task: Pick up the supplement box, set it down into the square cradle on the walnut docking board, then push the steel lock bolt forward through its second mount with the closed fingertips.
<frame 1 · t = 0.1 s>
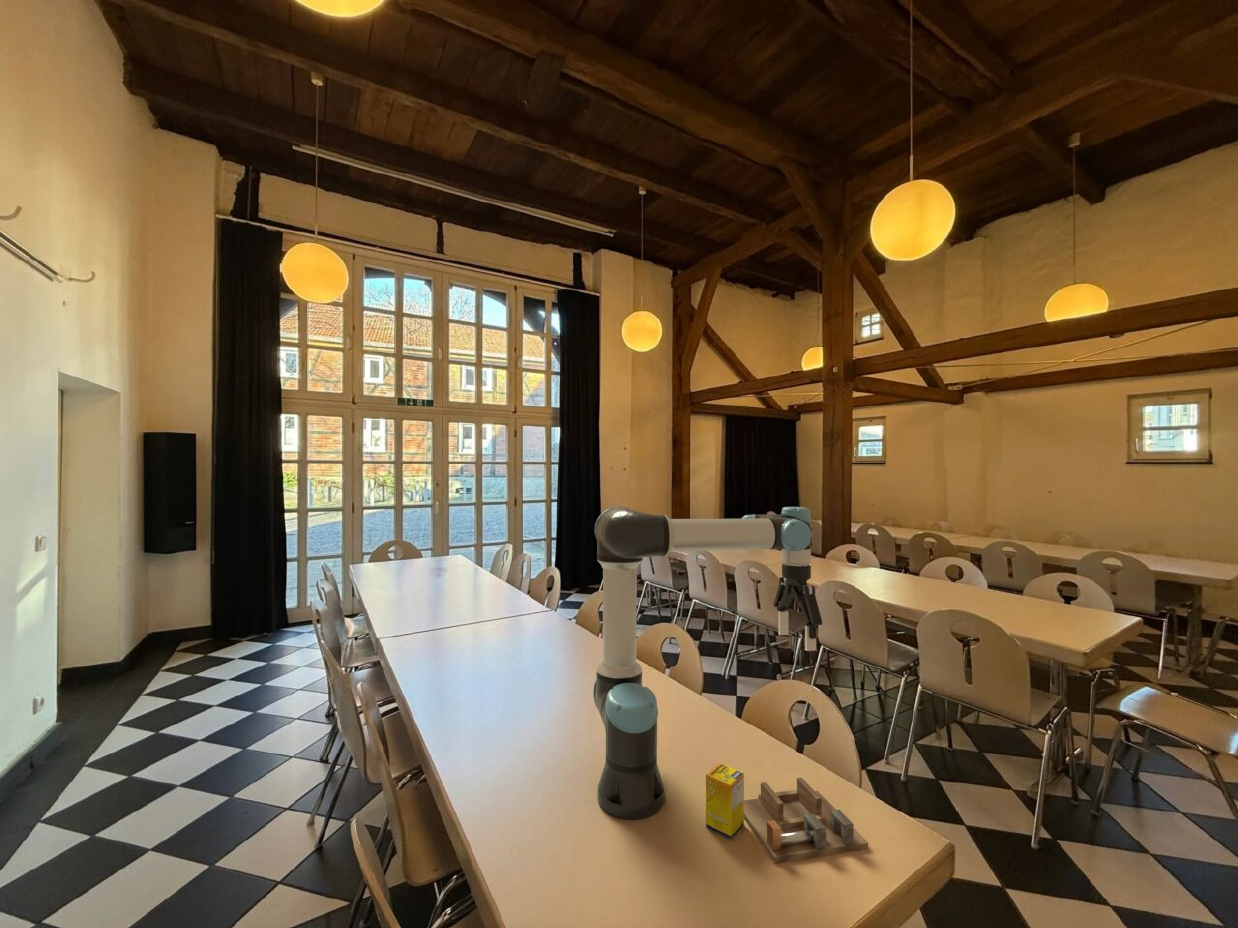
hand: (796, 642, 140), 28 cm above the table, fingers open, 13 cm apart
dock: (798, 826, 107), on the table
lock pin: (797, 831, 100), point 3 cm above the table, slide at 0.0 cm
supplement box: (724, 827, 107), on the table
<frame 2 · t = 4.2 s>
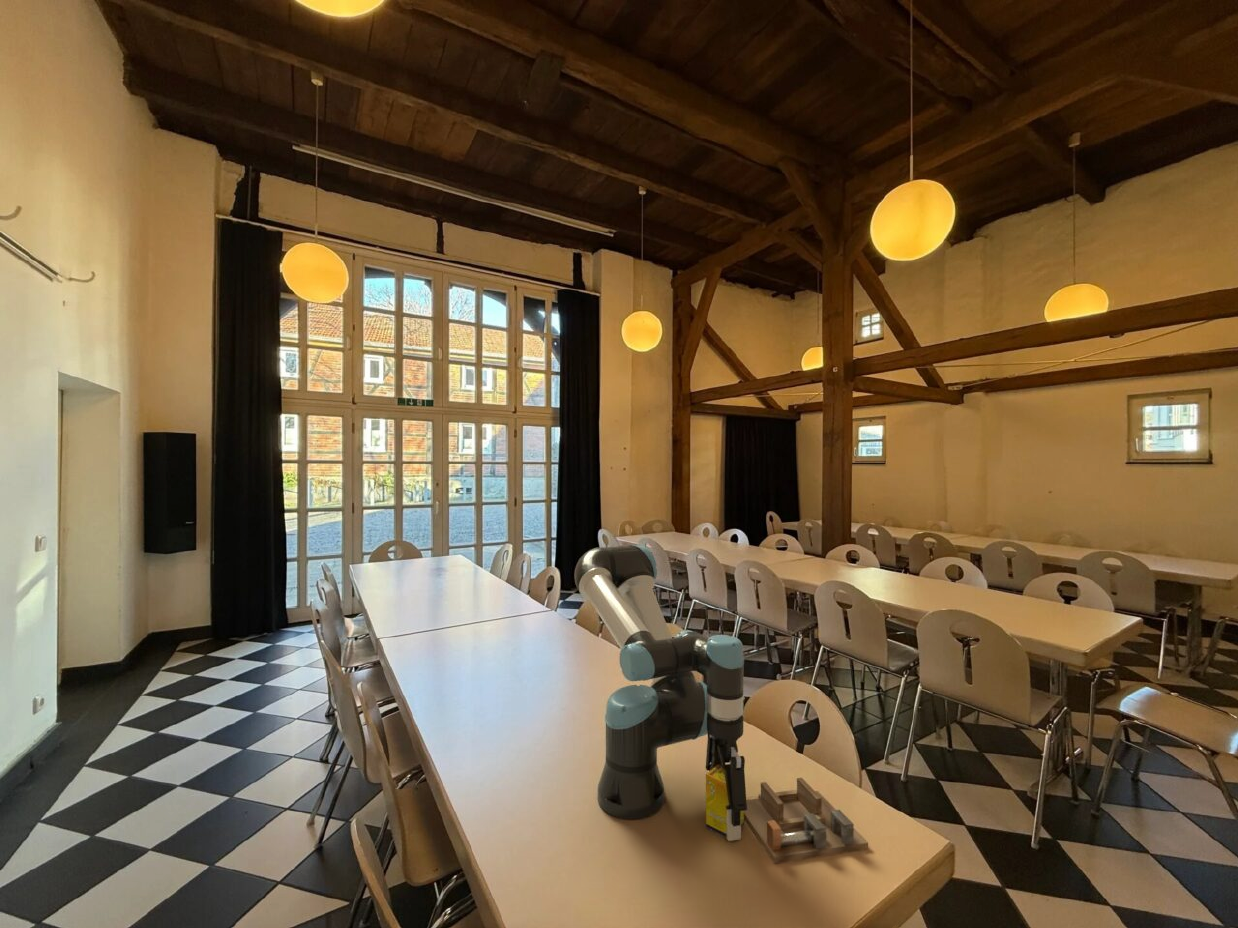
hand: (724, 823, 107), 0 cm above the table, fingers closed on supplement box, 8 cm apart
supplement box: (724, 827, 107), on the table, touching gripper
everything else where it was.
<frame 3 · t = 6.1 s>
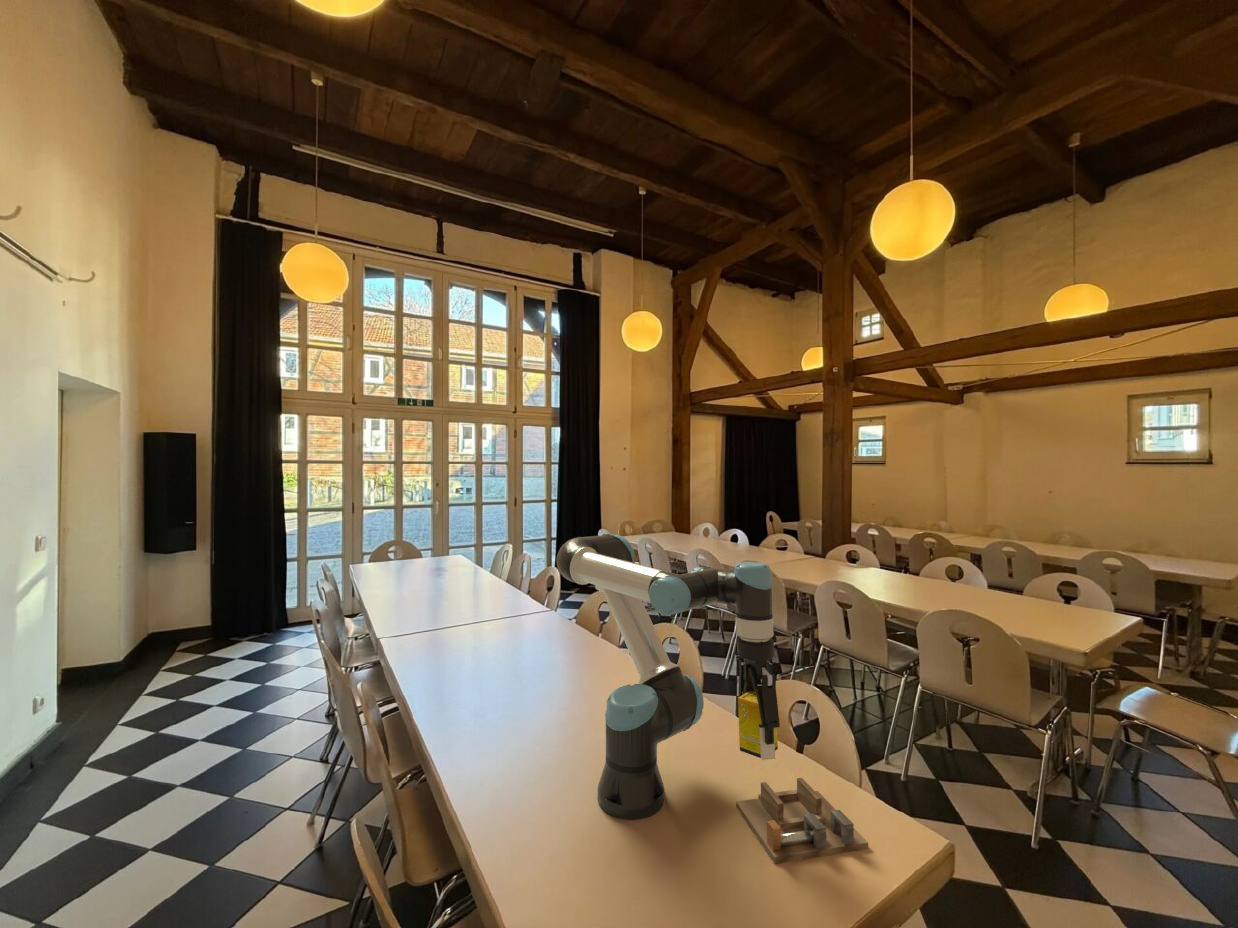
hand: (758, 747, 107), 16 cm above the table, fingers closed on supplement box, 8 cm apart
supplement box: (758, 750, 107), point 15 cm above the table, touching gripper
everything else where it was.
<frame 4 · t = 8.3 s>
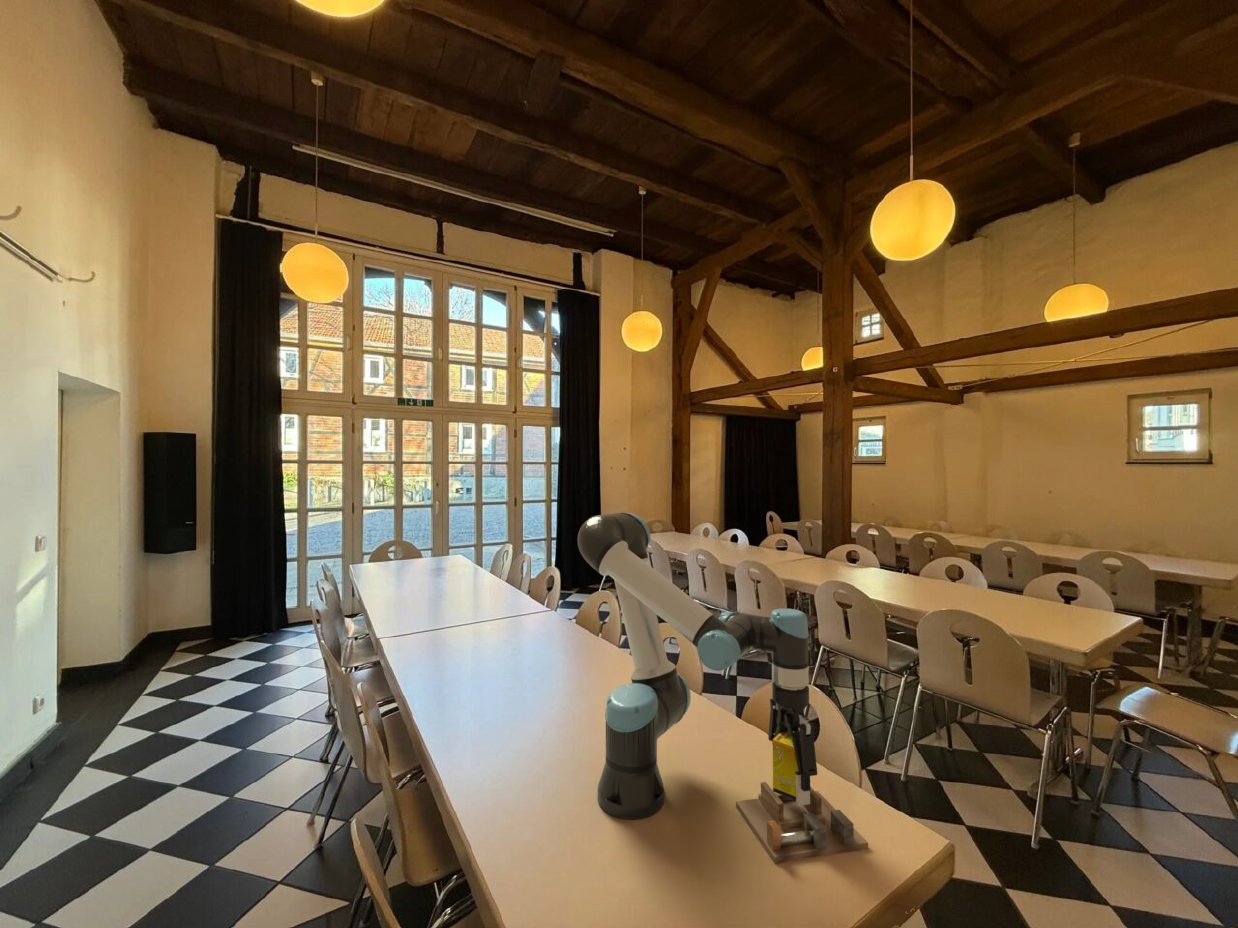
hand: (791, 790, 110), 6 cm above the table, fingers closed on supplement box, 8 cm apart
supplement box: (791, 791, 110), point 6 cm above the table, touching dock, gripper
everything else where it was.
when the fingers open (4 cm above the table, at t = 9.2 s): supplement box stays where it is, resting on dock.
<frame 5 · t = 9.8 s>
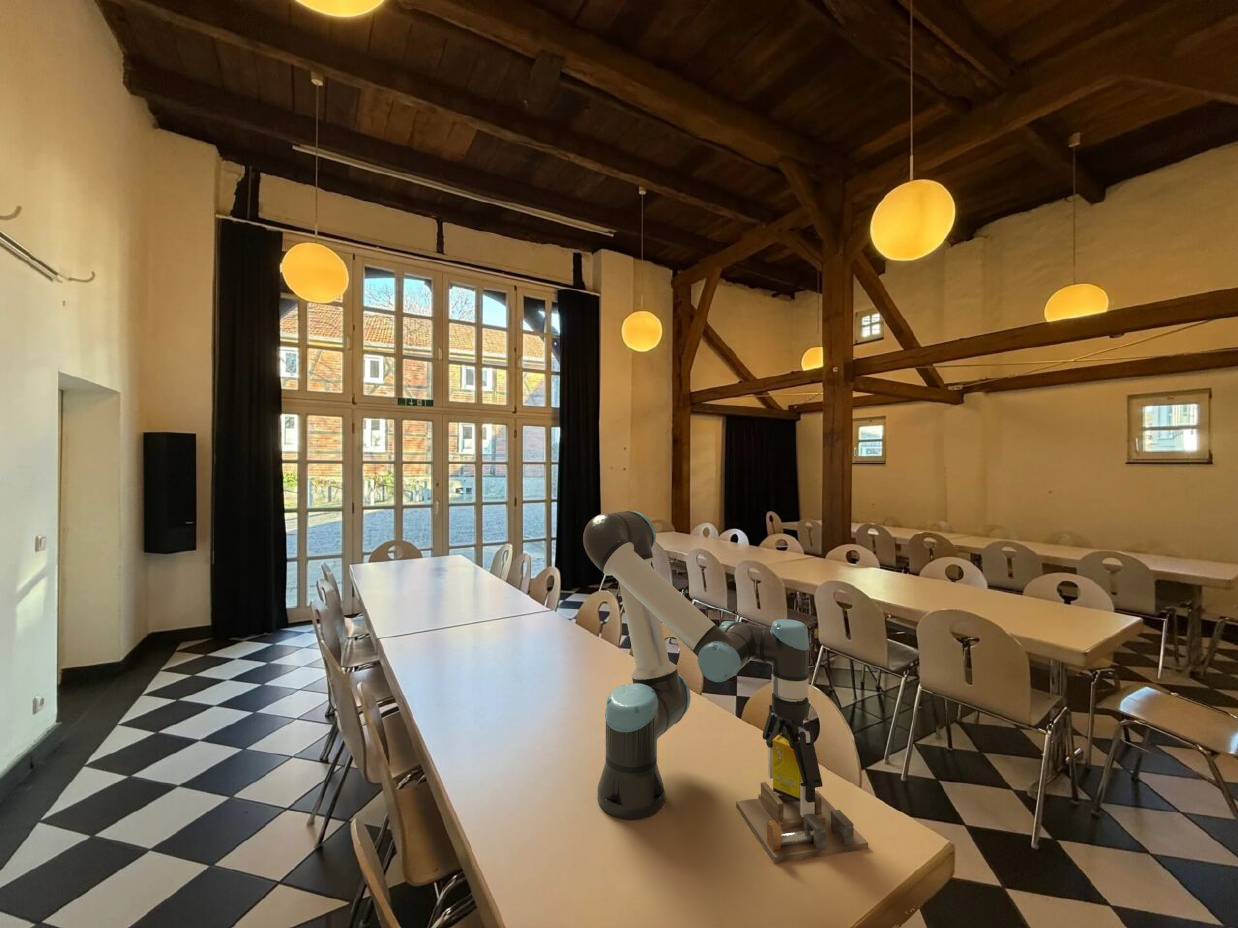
hand: (789, 795, 110), 4 cm above the table, fingers open, 13 cm apart
supplement box: (791, 791, 110), point 6 cm above the table, touching dock
everything else where it was.
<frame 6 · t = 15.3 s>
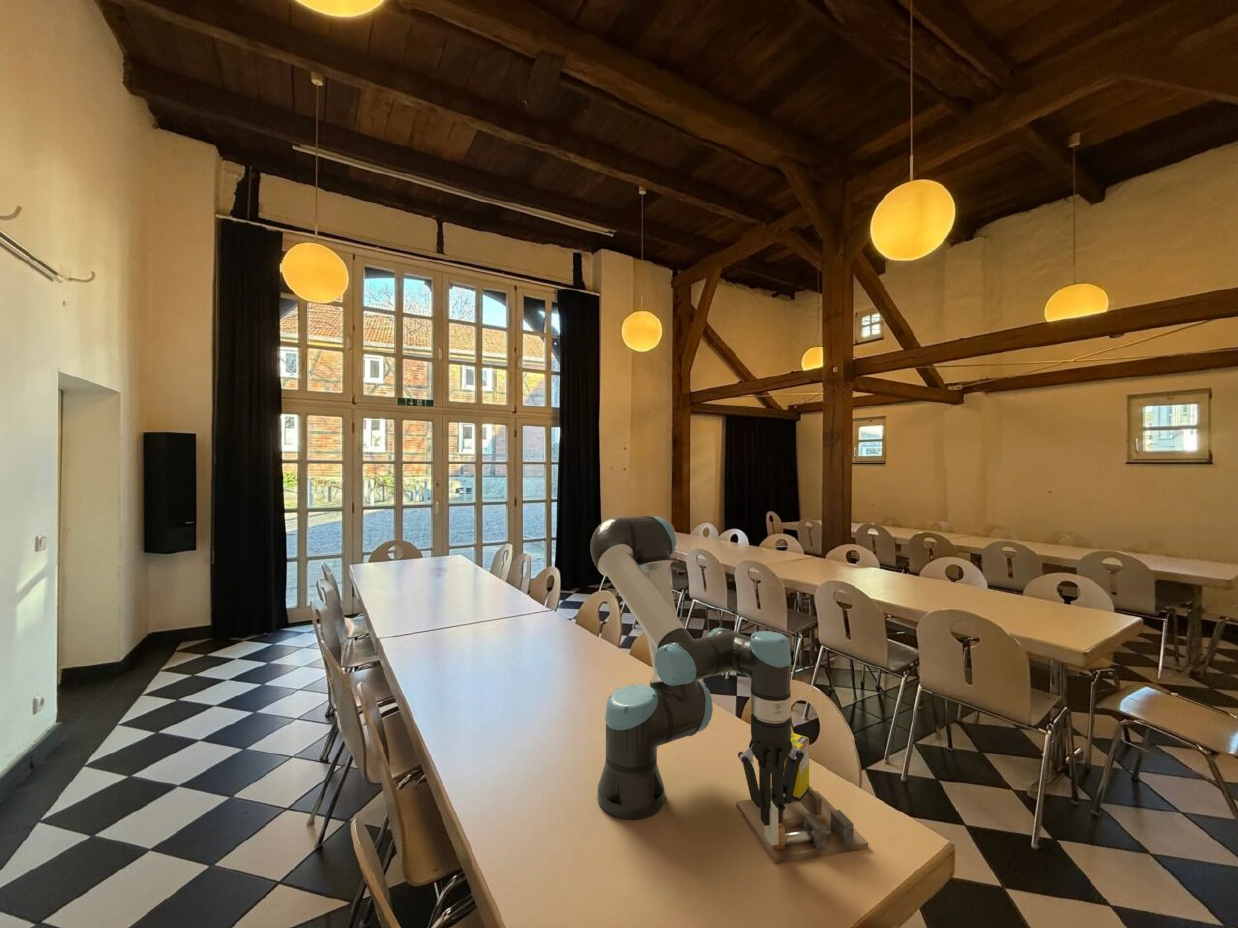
hand: (771, 839, 99), 3 cm above the table, fingers closed
lock pin: (801, 831, 100), point 3 cm above the table, slide at 0.9 cm, touching gripper
everything else where it was.
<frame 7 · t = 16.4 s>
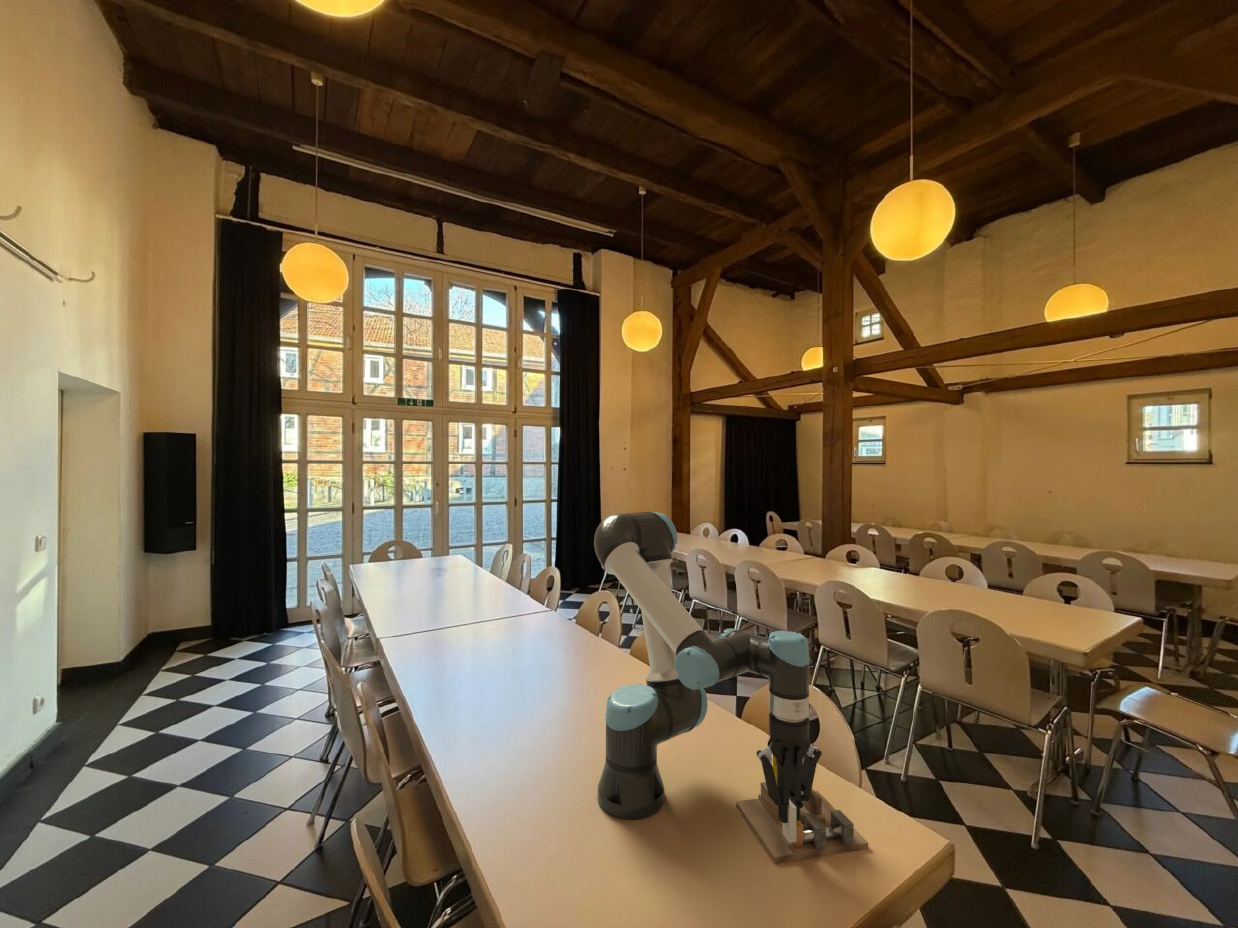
hand: (789, 837, 100), 3 cm above the table, fingers closed
lock pin: (819, 828, 101), point 3 cm above the table, slide at 4.8 cm, touching gripper
everything else where it was.
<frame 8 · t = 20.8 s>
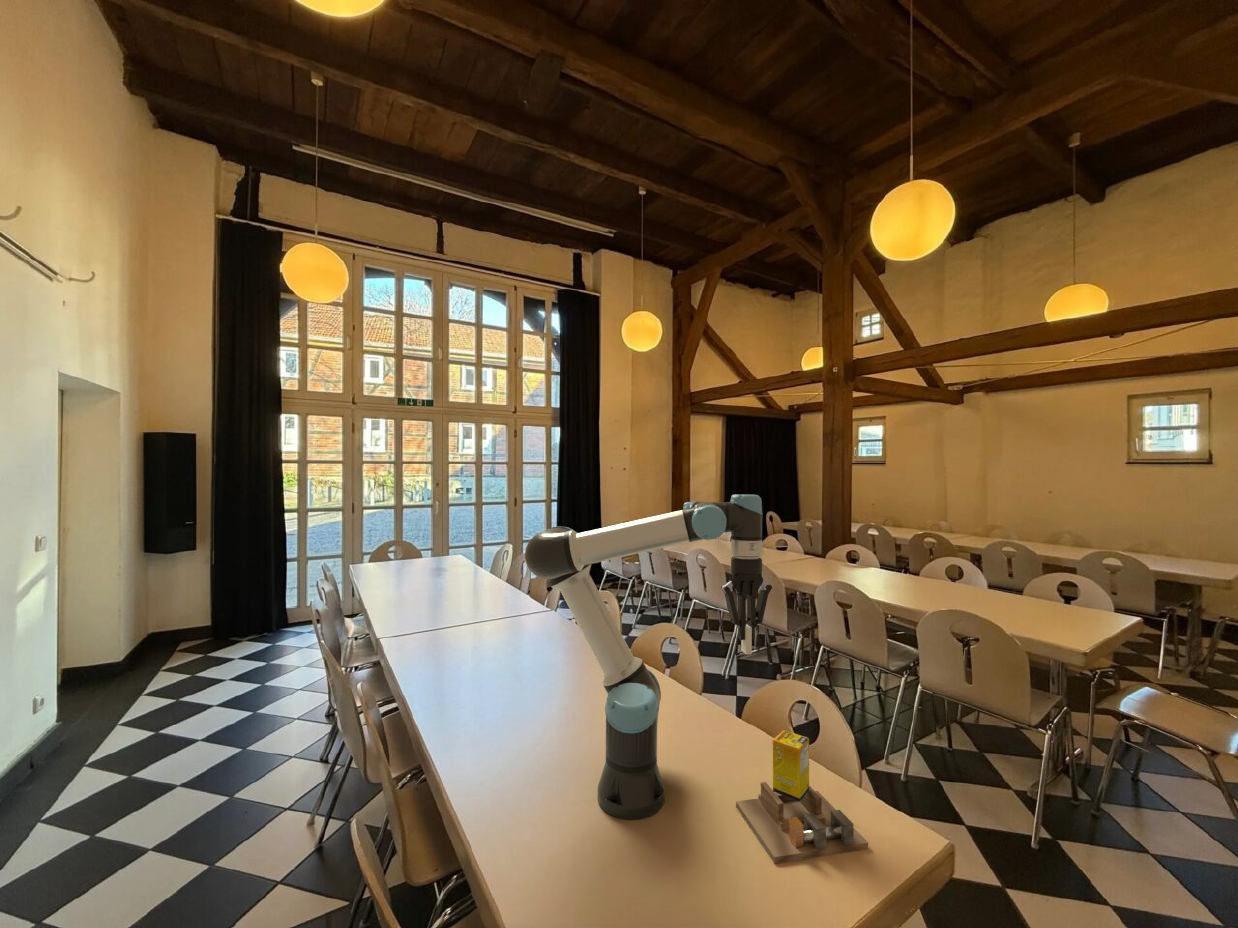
hand: (746, 652, 127), 29 cm above the table, fingers closed
lock pin: (819, 828, 101), point 3 cm above the table, slide at 4.8 cm
everything else where it was.
at the end: supplement box 0.1 cm from the target spot on the dock, point 5.5 cm above the dock's base; supplement box tilted 0°; lock pin slide at 4.8 cm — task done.
